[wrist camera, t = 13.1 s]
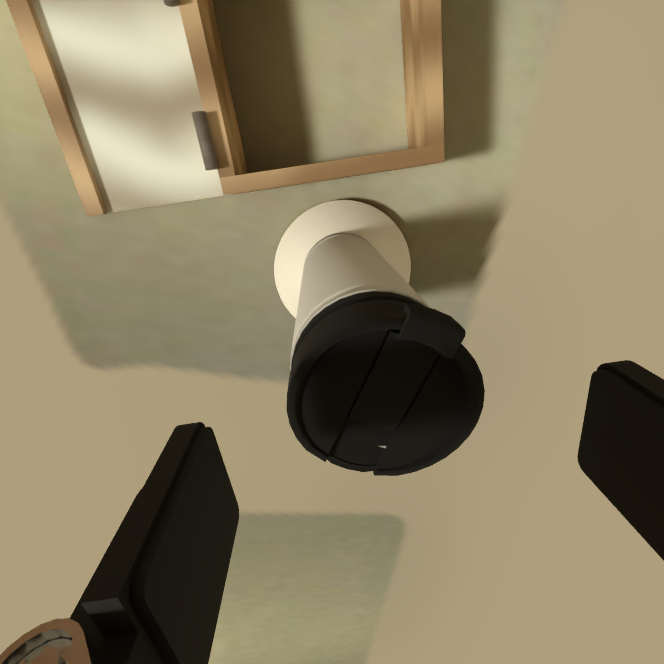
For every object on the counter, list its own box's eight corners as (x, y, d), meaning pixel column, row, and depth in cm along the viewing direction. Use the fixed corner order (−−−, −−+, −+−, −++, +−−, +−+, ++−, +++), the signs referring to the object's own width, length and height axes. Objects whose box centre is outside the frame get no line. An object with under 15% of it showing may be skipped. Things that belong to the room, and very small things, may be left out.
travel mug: (395, 244, 29) (540, 353, 10) (363, 319, 31) (434, 519, 12) (320, 215, 28) (332, 277, 9) (292, 294, 30) (255, 472, 11)
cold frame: (8, -21, 22) (-88, -86, 17) (411, -85, 22) (443, -172, 17) (95, 215, 28) (43, 222, 22) (422, 165, 27) (448, 160, 22)
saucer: (262, 211, 28) (261, 211, 27) (404, 189, 28) (406, 189, 27) (288, 340, 32) (288, 344, 32) (412, 322, 32) (414, 325, 31)
